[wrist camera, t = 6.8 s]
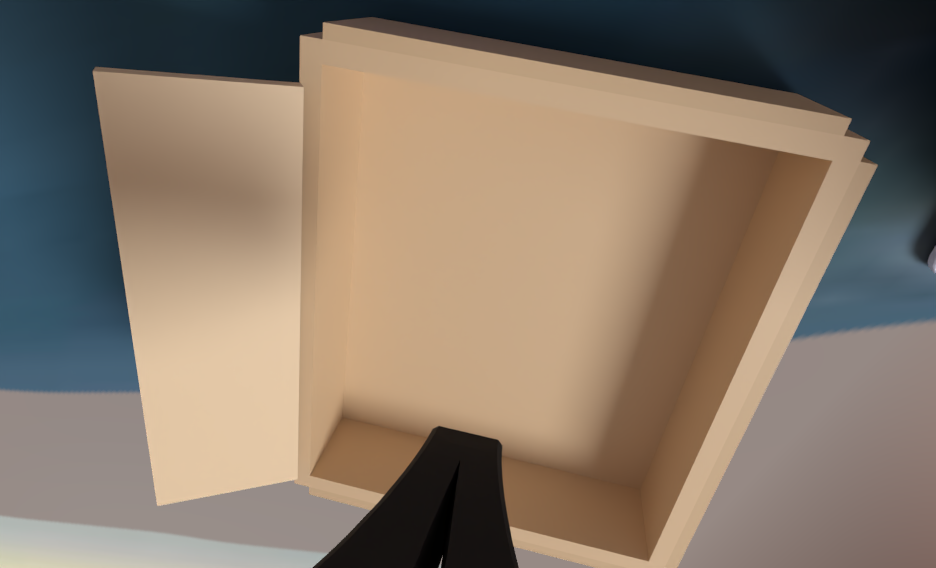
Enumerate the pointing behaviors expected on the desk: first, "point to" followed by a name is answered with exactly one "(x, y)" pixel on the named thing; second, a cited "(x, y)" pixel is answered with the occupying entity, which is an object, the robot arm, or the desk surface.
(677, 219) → the carton
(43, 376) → the desk surface
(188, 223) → the carton flap
